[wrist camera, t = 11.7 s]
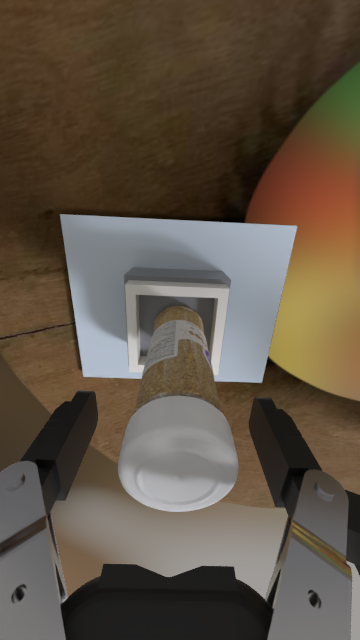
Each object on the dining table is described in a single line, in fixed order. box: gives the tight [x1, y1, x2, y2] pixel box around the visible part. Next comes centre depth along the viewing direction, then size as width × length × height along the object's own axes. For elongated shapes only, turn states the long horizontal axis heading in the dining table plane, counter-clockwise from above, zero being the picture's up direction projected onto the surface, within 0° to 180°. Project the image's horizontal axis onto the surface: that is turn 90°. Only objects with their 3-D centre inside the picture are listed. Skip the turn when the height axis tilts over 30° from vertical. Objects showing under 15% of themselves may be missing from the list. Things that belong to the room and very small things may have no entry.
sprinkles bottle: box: [118, 306, 239, 512], centre depth 14 cm, size 5×5×14 cm
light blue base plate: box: [60, 214, 297, 383], centre depth 22 cm, size 22×18×6 cm
